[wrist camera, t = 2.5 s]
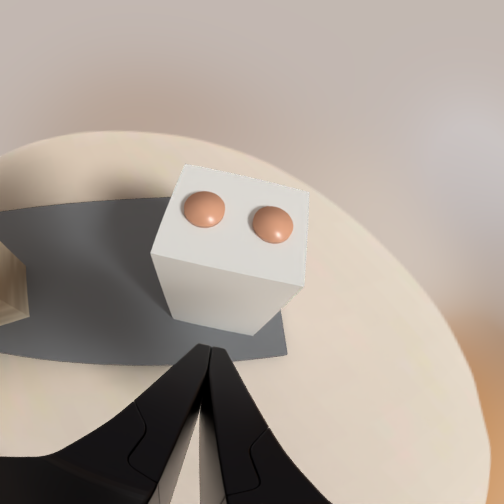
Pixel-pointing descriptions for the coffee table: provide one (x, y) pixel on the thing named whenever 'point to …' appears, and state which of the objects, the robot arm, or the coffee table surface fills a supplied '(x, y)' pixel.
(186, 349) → the mat
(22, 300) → the tile one
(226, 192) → the tile two
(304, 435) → the coffee table surface
